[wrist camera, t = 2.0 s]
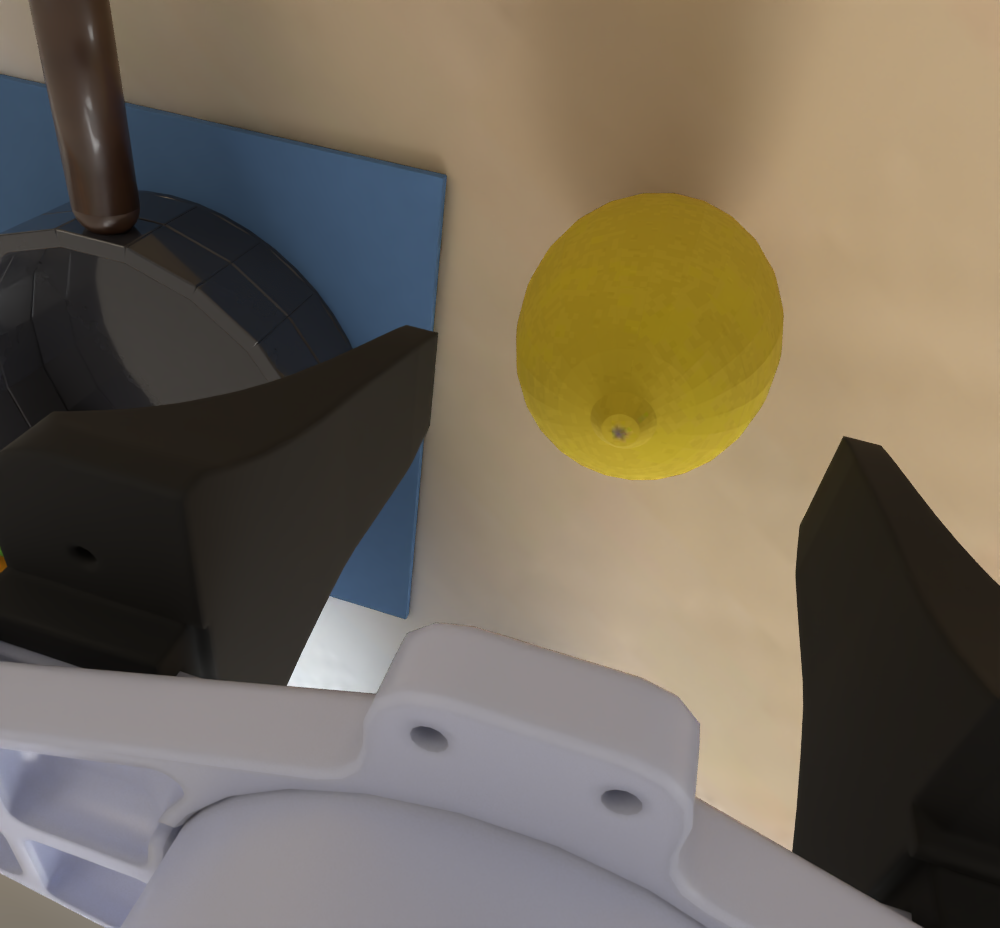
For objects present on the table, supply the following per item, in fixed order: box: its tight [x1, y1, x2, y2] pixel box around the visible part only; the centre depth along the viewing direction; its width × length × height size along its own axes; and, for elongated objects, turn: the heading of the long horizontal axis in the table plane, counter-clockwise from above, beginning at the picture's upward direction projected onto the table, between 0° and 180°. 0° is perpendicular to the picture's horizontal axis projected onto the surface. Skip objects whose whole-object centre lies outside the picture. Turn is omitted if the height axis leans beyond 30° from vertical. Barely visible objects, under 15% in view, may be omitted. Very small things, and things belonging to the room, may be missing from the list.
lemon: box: [516, 193, 784, 480], centre depth 17 cm, size 6×6×8 cm
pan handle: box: [29, 0, 140, 235], centre depth 18 cm, size 9×2×2 cm, turn 173°
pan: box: [0, 190, 353, 450], centre depth 25 cm, size 13×13×4 cm
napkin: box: [0, 74, 447, 619], centre depth 27 cm, size 17×16×1 cm
